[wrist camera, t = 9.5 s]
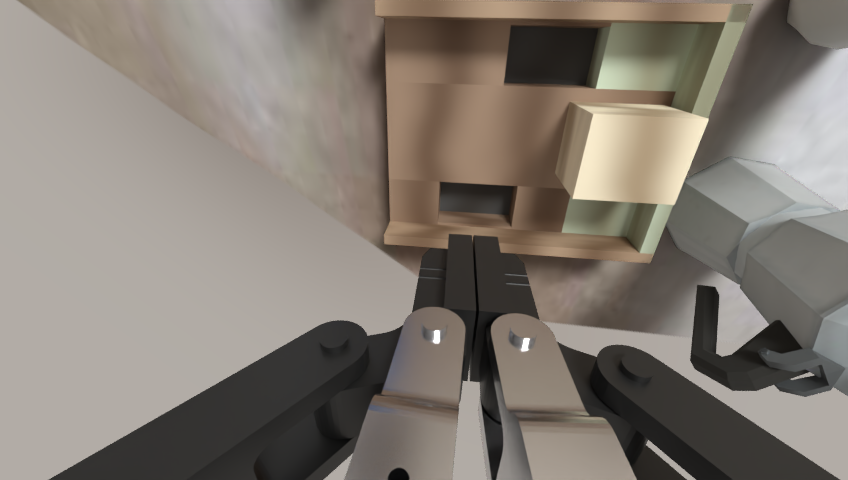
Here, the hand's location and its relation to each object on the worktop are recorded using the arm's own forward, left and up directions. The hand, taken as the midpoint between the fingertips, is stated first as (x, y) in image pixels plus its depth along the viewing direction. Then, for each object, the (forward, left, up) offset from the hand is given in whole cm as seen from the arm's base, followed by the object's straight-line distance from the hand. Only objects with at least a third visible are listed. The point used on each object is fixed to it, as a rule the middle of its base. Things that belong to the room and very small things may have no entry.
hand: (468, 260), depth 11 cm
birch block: (+10, 0, -17) cm, 19 cm away
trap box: (+4, 0, -19) cm, 20 cm away
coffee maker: (+20, -6, -19) cm, 29 cm away
